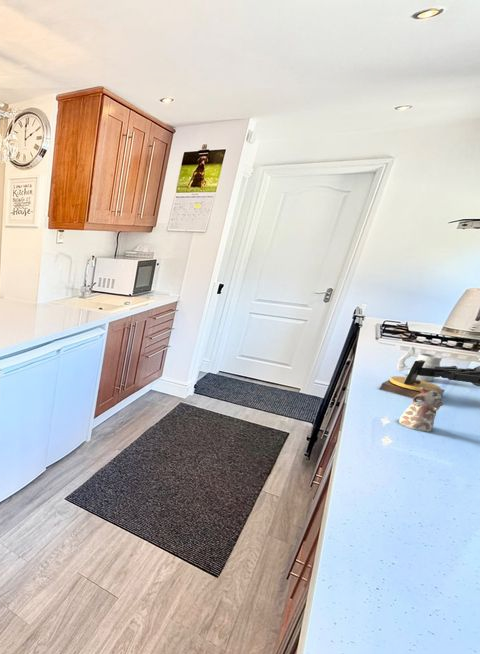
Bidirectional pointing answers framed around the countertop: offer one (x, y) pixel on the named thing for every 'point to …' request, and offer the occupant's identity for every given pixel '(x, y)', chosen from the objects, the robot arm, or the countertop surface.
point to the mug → (429, 359)
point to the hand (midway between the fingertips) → (419, 371)
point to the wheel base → (403, 390)
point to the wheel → (414, 379)
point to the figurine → (422, 411)
